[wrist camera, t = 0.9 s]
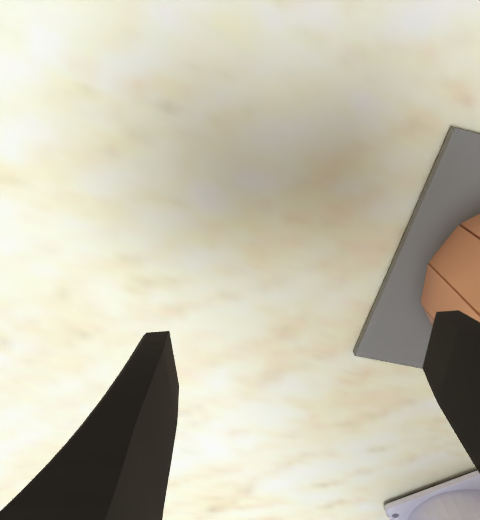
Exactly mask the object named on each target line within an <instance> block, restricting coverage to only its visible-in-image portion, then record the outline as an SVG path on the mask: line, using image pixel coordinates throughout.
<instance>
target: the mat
mask: <svg viewBox="0 0 480 520" xmlns="http://www.w3.org/2000/svg"><path fill="white" fill-rule="evenodd" d="M478 214H480V134H478V133H474V132H471V131H467V130H463V129H459V128H455V127H451V128H450V130H449V132H448V134H447V137H446V139H445V141H444V144H443V146H442V148H441V151H440V153H439V155H438V158H437V160H436V162H435V164H434V167H433V169H432V171H431V174H430V176H429V178H428V181H427V183H426V185H425V187H424V190H423V192H422V194H421V197H420V199H419V201H418V204H417V206H416V208H415V210H414V213H413V215H412V217H411V220H410V222H409V224H408V227H407V229H406V231H405V233H404V236H403V238H402V240H401V243H400V245H399V247H398V250H397V252H396V254H395V256H394V259H393V261H392V263H391V266H390V268H389V270H388V273H387V275H386V277H385V279H384V282H383V284H382V286H381V289H380V291H379V293H378V296H377V298H376V300H375V302H374V305H373V307H372V309H371V312H370V314H369V316H368V319H367V321H366V323H365V325H364V328H363V330H362V332H361V335H360V337H359V339H358V342H357V344H356V346H355V348H354V351H353V352H354V355H355V356H359V357H364V358H369V359H375V360H380V361H385V362H391V363H396V364H401V365H406V366H412V367H417V368H422V369H423V363H424V359H425V355H426V351H427V347H428V343H429V339H430V335H431V331H432V325H431V323H430V321H429V319H428V317H427V315H426V313H425V311H424V309H423V307H422V305H421V304H422V303H421V298H422V292H423V287H424V281H425V276H426V270H427V265H428V264H430V263H429V261H430V260H431V259H432V257H433V256H434V255H435V254H436V252H437V251H438V250H439V249H440V247H441V246H442V245H443V244H444V242H445V241H446V240H447V239H448V238H449V236H450V235H451V234H452V233H453V231H454V230H455V229H456V228H457V226H458V225H459V226H461V223H463V222H465V221H466V220H468V219H470V218H472V217H474V216H476V215H478ZM461 227H462V226H461Z"/></svg>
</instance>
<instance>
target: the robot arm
mask: <svg viewBox="0 0 480 520" xmlns="http://www.w3.org/2000/svg"><path fill="white" fill-rule="evenodd" d="M423 370H424V372H425V375H426V377H427V380H428V382H429V385H430V387H431V389H432V391H433V394H434V396H435V398H436V400H437V402H438V404H439V406H440V408H441V409H442V411H443V413H444V415H445V416H446V418H447V420H448V421H449V423H450V425H451V426H452V428H453V430H454V432H455V433H456V435H457V437H458V438H459V440H460V442H461V443H462V445H463V447H464V448H465V450H466V452H467V453H468V455H469V457H470V458H471V460H472V462H473V463H474V465H475V467H476V468H477V471H474V472H472V473H469V474H466V475H463V476H461V477H458V478H455V479H453V480H450V481H447V482H444V483H442V484H439V485H436V486H434V487H431V488H428V489H426V490H423V491H420V492H417V493H415V494H412V495H409V496H407V497H404V498H401V499H398V500H396V501H393V502H390V503H388V504H386V505H385V507H384V509H385V512H386V514H387V516H388V517H389V518H390V520H480V322H478V321H477V320H475V319H473V318H471V317H470V316H468V315H466V314H464V313H463V312H461V311H459V310H455V311H441V312H436V315H435V319H434V323H433V327H432V331H431V335H430V339H429V343H428V347H427V351H426V355H425V359H424V363H423ZM178 396H179V383H178V378H177V372H176V366H175V361H174V355H173V349H172V344H171V338H170V332H169V331H164V332H151V333H146V334H145V335H144V336H143V337H142V339H141V340H140V342H139V344H138V345H137V347H136V349H135V350H134V352H133V354H132V355H131V357H130V358H129V360H128V361H127V363H126V364H125V366H124V368H123V369H122V371H121V372H120V374H119V375H118V376H117V378H116V379H115V381H114V382H113V384H112V385H111V386H110V388H109V389H108V391H107V392H106V394H105V395H104V396H103V398H102V399H101V400H100V402H99V403H98V404H97V406H96V407H95V408H94V410H93V411H92V412H91V413H90V415H89V416H88V417H87V419H86V420H85V421H84V422H83V424H82V425H81V426H80V427H79V429H78V430H77V431H76V432H75V433H74V435H73V436H72V437H71V438H70V439H69V441H68V442H67V443H66V444H65V445H64V446H63V447H62V449H61V450H60V451H59V452H58V453H57V454H56V455H55V456H54V457H53V459H52V460H51V461H50V462H49V463H48V464H47V465H46V466H45V467H44V468H43V469H42V470H41V471H40V472H39V473H38V474H37V475H36V476H35V478H34V479H33V480H32V481H31V482H30V483H29V484H28V485H27V486H26V487H25V488H24V489H23V490H22V491H21V492H20V493H19V494H18V495H17V496H16V497H15V498H14V499H13V500H12V501H11V502H10V503H9V504H7V505H6V506H5V507H4V508H3V509H2V510H1V511H0V520H162V517H163V509H164V502H165V496H166V490H167V484H168V477H169V471H170V465H171V459H172V453H173V446H174V440H175V433H176V427H177V417H178Z"/></svg>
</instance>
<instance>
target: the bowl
mask: <svg viewBox="0 0 480 520" xmlns="http://www.w3.org/2000/svg"><path fill="white" fill-rule="evenodd" d="M461 226H462V227H461ZM461 226H459V225H458V226H457V228H456V229H455V230H454V231H453V233H452V234H451V235H450V236H449V238H448V239H447V240H446V241H445V242H444V244H443V245H442V246H441V247H440V249H439V250H438V251H437V252H436V254H435V255H434V256H433V257H432V259H431V260H430V261H429V263H430V264H428V265H427V270H426V276H425V281H424V287H423V292H422V298H421V303H422V304H421V305H422V307H423V309H424V311H425V313H426V315H427V317H428V319H429V321H430V323H431V325H432V327H433V323H434V319H435V315H436V312H441V311H455V310H459V311H461V312H463V313H464V314H466V315H468V316H470V317H471V318H473V319H475V320H477V321H478V322H480V214H478V215H476V216H474V217H472V218H470V219H468V220H466V221H465V222H463V223H461Z"/></svg>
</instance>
